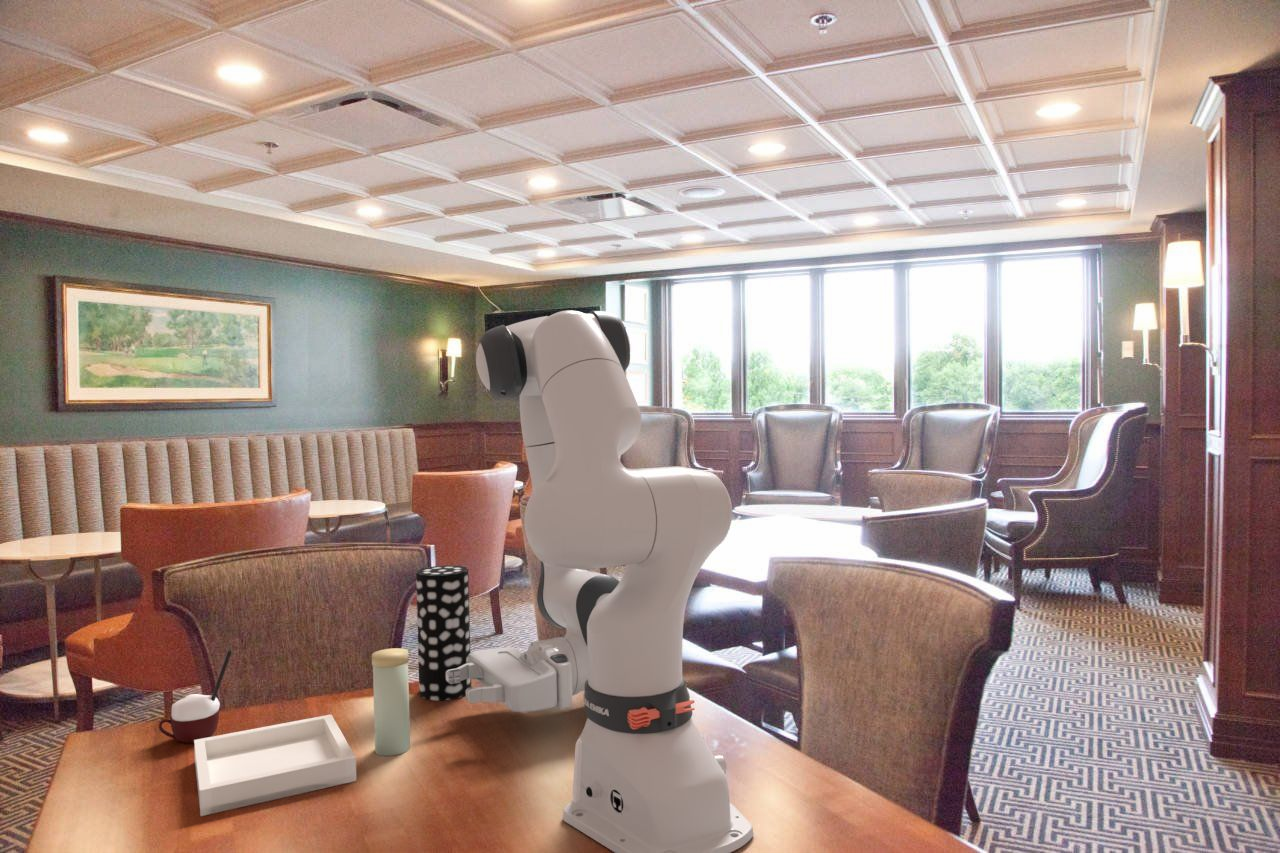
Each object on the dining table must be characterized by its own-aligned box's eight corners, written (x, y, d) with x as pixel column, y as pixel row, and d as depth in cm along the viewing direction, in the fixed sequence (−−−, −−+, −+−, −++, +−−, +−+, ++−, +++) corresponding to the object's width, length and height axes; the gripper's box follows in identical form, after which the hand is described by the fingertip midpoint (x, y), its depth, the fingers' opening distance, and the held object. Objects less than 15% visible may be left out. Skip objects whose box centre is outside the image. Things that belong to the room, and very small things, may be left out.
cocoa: (155, 750, 119) (146, 666, 118) (178, 731, 125) (169, 651, 124) (224, 745, 119) (216, 661, 118) (243, 726, 125) (236, 646, 124)
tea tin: (414, 751, 116) (412, 654, 115) (378, 759, 113) (376, 660, 113) (406, 739, 120) (403, 646, 119) (371, 746, 117) (368, 651, 117)
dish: (356, 780, 107) (355, 757, 107) (200, 816, 98) (199, 790, 98) (331, 735, 122) (331, 714, 122) (194, 762, 113) (194, 739, 113)
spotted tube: (458, 702, 135) (455, 576, 134) (410, 699, 136) (406, 574, 136) (479, 684, 143) (476, 566, 142) (432, 682, 144) (429, 565, 144)
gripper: (521, 633, 137) (435, 646, 130) (574, 666, 119) (479, 684, 112) (521, 672, 137) (436, 687, 130) (575, 711, 119) (480, 731, 112)
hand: (456, 686), depth 121 cm, fingers open, 8 cm apart
